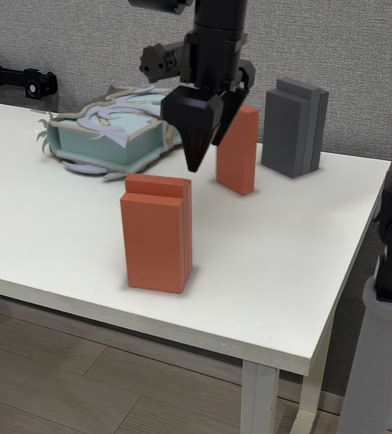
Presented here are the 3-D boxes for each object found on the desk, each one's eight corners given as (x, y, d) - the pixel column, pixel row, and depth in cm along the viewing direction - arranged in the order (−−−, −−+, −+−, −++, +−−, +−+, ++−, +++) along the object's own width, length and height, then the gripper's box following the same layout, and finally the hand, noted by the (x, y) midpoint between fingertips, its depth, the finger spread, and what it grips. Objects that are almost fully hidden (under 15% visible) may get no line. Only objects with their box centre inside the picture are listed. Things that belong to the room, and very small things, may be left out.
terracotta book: (254, 191, 92) (259, 109, 84) (242, 195, 91) (247, 113, 83) (226, 177, 97) (228, 98, 88) (214, 181, 96) (216, 101, 87)
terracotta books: (192, 269, 75) (191, 171, 66) (181, 294, 70) (178, 192, 61) (142, 262, 76) (135, 165, 67) (128, 286, 72) (118, 186, 63)
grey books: (318, 169, 99) (330, 84, 90) (292, 178, 96) (302, 92, 87) (286, 155, 104) (294, 74, 95) (260, 164, 101) (266, 81, 92)
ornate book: (122, 121, 121) (26, 166, 100) (118, 73, 115) (15, 110, 94) (214, 139, 112) (130, 192, 92) (216, 88, 106) (127, 132, 86)
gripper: (180, -4, 70) (172, 121, 81) (116, 26, 57) (116, 171, 68) (265, 12, 68) (246, 138, 79) (220, 47, 55) (203, 193, 66)
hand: (204, 157), depth 73 cm, fingers open, 9 cm apart
